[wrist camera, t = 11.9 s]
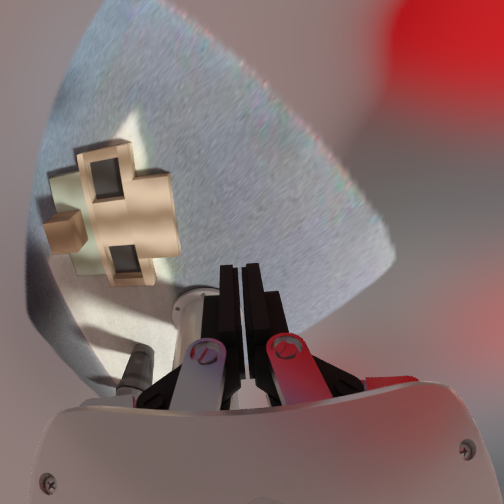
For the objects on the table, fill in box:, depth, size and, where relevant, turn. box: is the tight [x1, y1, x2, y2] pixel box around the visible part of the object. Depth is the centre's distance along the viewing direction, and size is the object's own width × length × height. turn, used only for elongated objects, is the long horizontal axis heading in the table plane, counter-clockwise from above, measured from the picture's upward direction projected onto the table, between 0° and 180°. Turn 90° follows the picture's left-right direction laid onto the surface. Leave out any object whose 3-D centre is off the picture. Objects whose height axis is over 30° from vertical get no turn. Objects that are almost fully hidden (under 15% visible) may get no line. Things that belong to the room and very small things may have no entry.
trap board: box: [49, 142, 181, 287], centre depth 37 cm, size 22×19×2 cm
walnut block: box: [43, 209, 89, 254], centre depth 34 cm, size 5×5×4 cm
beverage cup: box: [116, 344, 154, 396], centre depth 44 cm, size 7×7×20 cm
